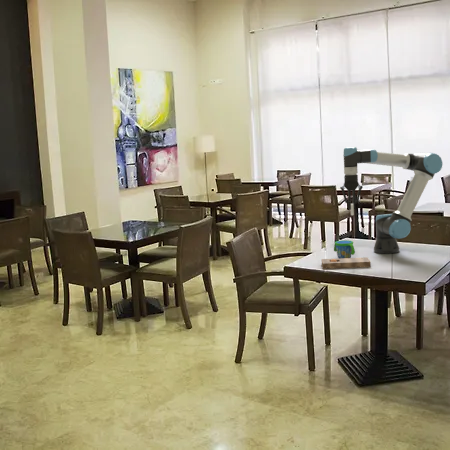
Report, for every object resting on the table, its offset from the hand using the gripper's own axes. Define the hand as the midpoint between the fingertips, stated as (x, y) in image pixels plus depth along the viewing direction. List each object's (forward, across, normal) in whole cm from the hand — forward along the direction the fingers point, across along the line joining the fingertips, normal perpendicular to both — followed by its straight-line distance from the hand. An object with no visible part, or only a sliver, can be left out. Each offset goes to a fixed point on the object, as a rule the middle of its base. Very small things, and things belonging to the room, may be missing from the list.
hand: (352, 215), depth 337 cm
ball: (+24, -13, -15) cm, 31 cm away
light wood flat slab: (+26, -6, -15) cm, 31 cm away
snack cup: (+27, -5, +4) cm, 27 cm away
